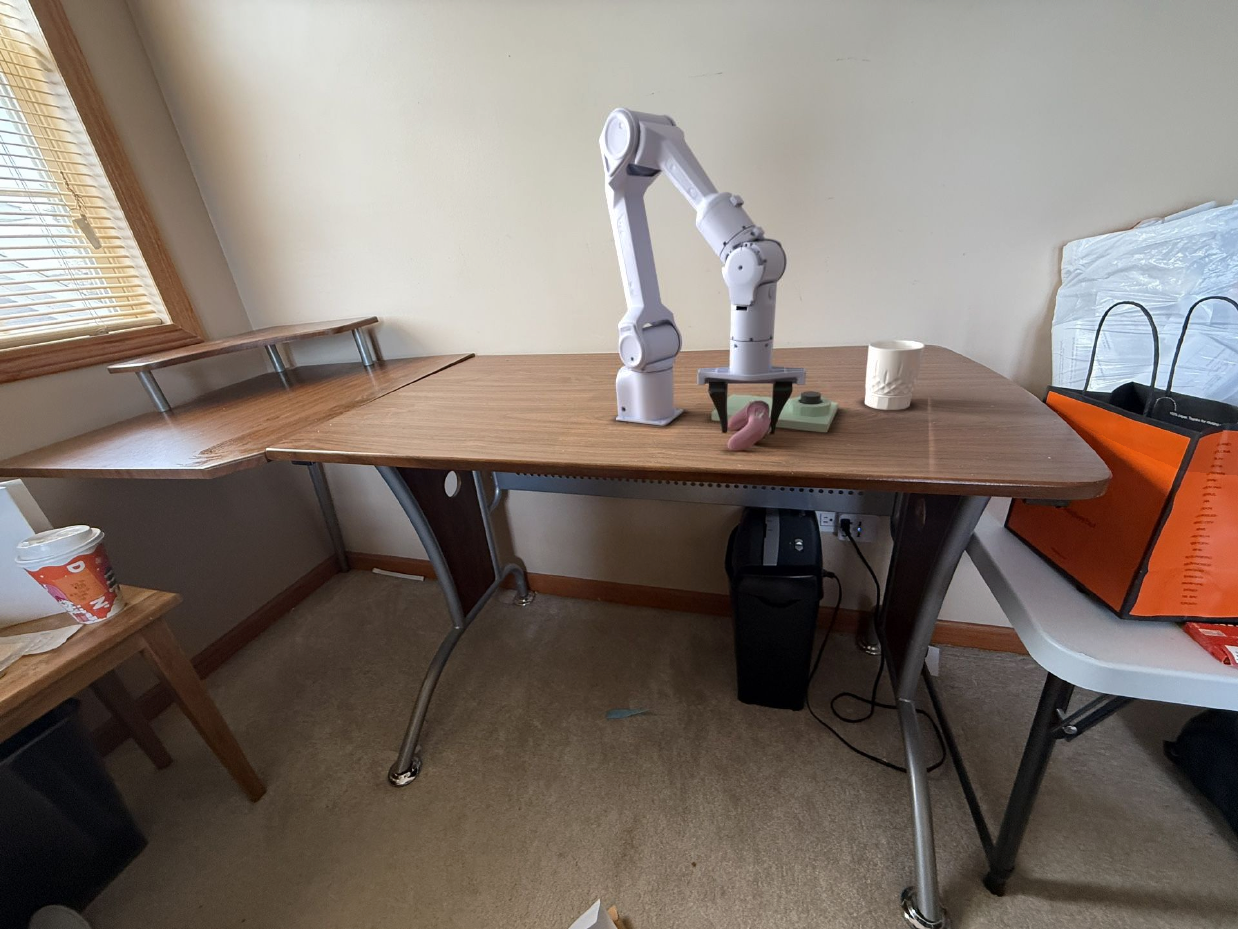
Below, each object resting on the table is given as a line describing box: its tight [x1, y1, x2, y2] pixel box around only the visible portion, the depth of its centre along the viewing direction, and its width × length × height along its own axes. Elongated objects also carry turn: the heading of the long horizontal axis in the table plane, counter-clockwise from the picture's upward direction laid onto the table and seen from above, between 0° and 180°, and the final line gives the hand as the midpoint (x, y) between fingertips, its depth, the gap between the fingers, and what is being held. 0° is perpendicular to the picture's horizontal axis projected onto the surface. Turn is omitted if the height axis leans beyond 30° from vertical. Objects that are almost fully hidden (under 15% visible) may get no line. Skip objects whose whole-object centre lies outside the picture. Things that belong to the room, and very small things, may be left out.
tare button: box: [800, 390, 822, 405], centre depth 76 cm, size 3×3×2 cm
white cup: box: [864, 339, 926, 411], centre depth 79 cm, size 8×8×10 cm
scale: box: [711, 393, 839, 433], centre depth 79 cm, size 18×11×3 cm, turn 60°
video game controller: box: [727, 399, 771, 452], centre depth 70 cm, size 10×5×7 cm, turn 168°
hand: (747, 431), depth 71 cm, fingers open, 6 cm apart
